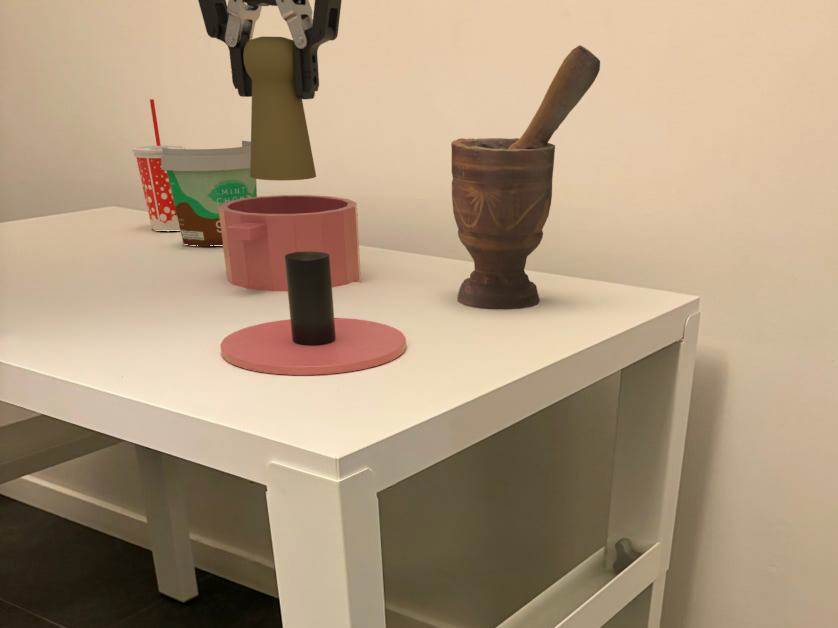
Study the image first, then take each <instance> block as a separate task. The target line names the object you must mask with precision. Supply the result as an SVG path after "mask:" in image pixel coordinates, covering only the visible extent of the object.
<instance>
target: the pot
mask: <svg viewBox="0 0 838 628" xmlns="http://www.w3.org/2000/svg"><path fill="white" fill-rule="evenodd" d="M218 209H219V217H220V225H221V233H222V241H223V247H222V248H223V255H224V264H225V271H226V279H227V281H228V282H229V283H230V284H232V285H233V286H236V287H241V288H245V289H248V290H255V291H256V290H257V291H269V292H288V288H287V278H286V267H285V255H287V254H290V253H294V252H304V251H315V252H324V253H327V254H329V256H330V267H331V281H332V288H337V287H340V286H346V285H349V284H351V283H361V259H360V258H361V256H360V254H361V253H360V241H359V240H360V239H359V223H358V221H359V220H358V204H357V202H356V201H353V200H351V199H349V198H343V197H337V196H329V195H314V194H281V195H280V194H278V195H277V194H276V195H260V196H257V197H251V198H243V199H236V200H232V201H228V202H224V203H223V204H221V205H220V206H219V207H218Z"/></svg>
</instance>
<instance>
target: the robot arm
mask: <svg viewBox="0 0 838 628" xmlns="http://www.w3.org/2000/svg"><path fill="white" fill-rule="evenodd" d="M197 1H198V5H199V8H200V12H201V16H202V19H203V23H204V27H205V31H206V34H207V35H208V37H209V38H212V39H217V40H218V41H221V42H223V43H224V44H225V45H226V46H227V48H228V52H229V60H230V61H229V62H230V69H231V71H230V72H231V82H232V85H233V88H234V89H235V90H237V93H238V96H239V97H243V98H249V97H250V98H252V79H251V78H250V76H249V75H248V73H247V72H246V69H245V65H244V59H243V54H244V48H245V46H246V43H247V42H248V41H249V40H251V39H253V37H254V32H255V28H256V22H257V21H258V20H259V18H260V17H261V11H262V7H269V6H271V7H277V9H278V10H279V14H280V16H281V18H282V19H283V20H284V21H285V23H286V25H287V27H288V30H289V32H290V35H291V38H292V40H293V41H294V43H295V45H296V47H297V50H293V62H294V75H295V89H296V96H297V98H298V99H302V100H312V99H315V96H316V92H318V91H319V87H320V78H319V76H320V75H319V59H318V50H319V47H320V46H321V45H323V44H325V43H327V42H330V41H335V40H336V39H337V38H338V35H339V26H340V17H341V9H342V2H343V1H342V0H314V4H313V5H314V6H313V9H312V6H311V4H310V0H197ZM227 1H228V2H227Z"/></svg>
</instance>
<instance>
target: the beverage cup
mask: <svg viewBox="0 0 838 628" xmlns="http://www.w3.org/2000/svg"><path fill="white" fill-rule="evenodd" d="M149 104H150V110H151V111H150V112H151V116H152V118H151V119H152V124H153V125H152V126H153V131H154V138H155V144H150V145H142V146H141V145H140V146H134V147H132V152H133V157H134V158H136V162H137V167H138V171H139V176H140V177H139V178H140V181H141V186H142V190H143V195H144V200H145V204H146V208H147V213H148V218H149V222H150V227H151V230H152V229H154V230H180V226H179V222H178V218H177V213H176V209H175V204H174V200H173V196H172V191H171V187H170V183H169V178H168V174H167V170H162V169H161V155H163V150H162V148H167V149H186V146H183V145H172V144H171V145H168V144H161V137H160V132H159V124H158V119H157V111H156V104H155V99H153V98H150V99H149Z"/></svg>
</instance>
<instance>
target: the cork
mask: <svg viewBox="0 0 838 628" xmlns="http://www.w3.org/2000/svg"><path fill="white" fill-rule="evenodd" d="M293 50H297V47H296V45H295V43H294V41H293V39H291V38H287V37H284V36H259V37H254V38H252V39H251V40H249V41H248V42H247V43H246V46H245V48H244V54H243V59H244V65H245V69H246V72H247V73H248V75H249V76H250V78H251V79H252V97H251V120H250V121H251V122H250V142H251V162H250V177H251V178H254V179H256V180H261V181H262V180H263V181H301V180H311V179H315V178H317V174H316V173H317V172H316V167H315V162H314V156H313V152H312V146H311V140H310V136H309V131H308V123H307V119H306V112H305V107H304V102H303V99H298V98H297V96H296V89H295V75H294V62H293Z"/></svg>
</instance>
